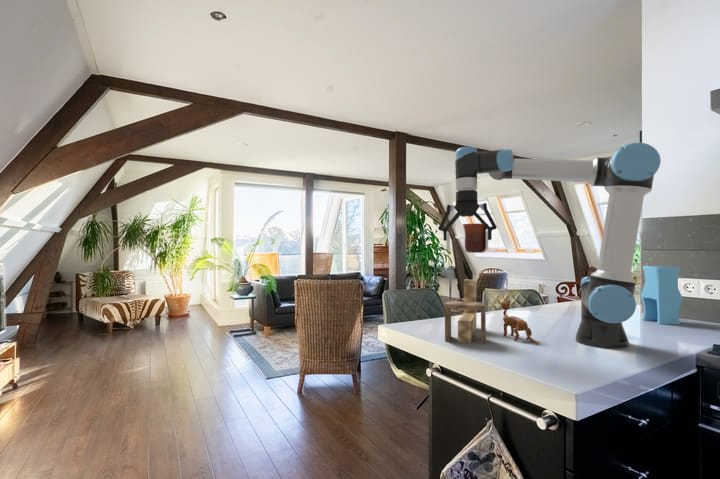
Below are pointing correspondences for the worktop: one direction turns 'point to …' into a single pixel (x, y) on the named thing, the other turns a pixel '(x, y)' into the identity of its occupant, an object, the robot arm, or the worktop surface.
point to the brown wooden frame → (466, 306)
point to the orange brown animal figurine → (515, 324)
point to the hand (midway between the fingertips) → (467, 249)
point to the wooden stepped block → (468, 313)
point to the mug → (475, 238)
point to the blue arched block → (661, 294)
